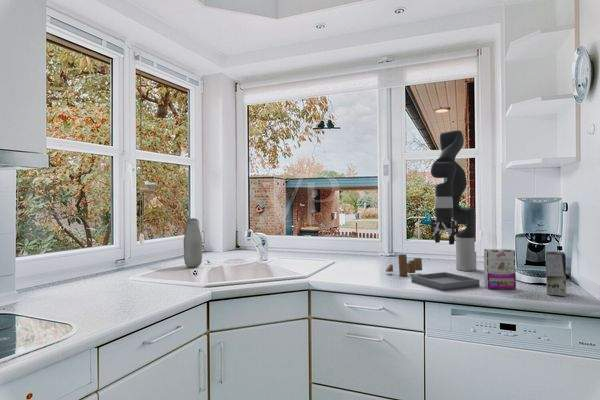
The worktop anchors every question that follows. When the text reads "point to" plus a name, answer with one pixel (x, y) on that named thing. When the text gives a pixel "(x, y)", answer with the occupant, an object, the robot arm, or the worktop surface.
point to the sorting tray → (445, 281)
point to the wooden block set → (406, 265)
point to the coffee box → (556, 273)
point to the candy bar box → (499, 269)
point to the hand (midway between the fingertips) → (444, 243)
